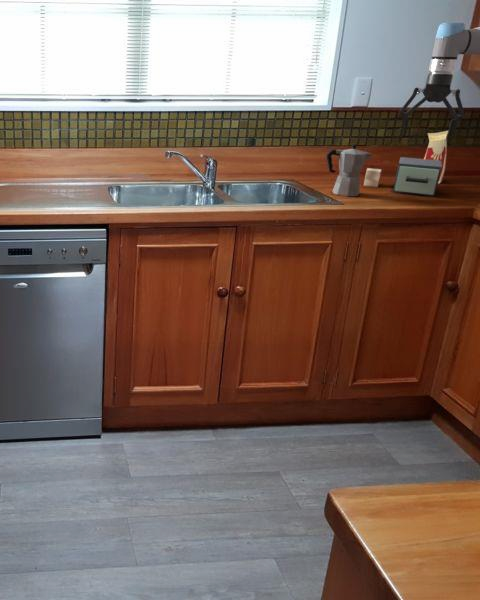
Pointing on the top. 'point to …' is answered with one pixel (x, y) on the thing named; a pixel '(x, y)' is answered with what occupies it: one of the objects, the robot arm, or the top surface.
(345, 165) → the coffeepot
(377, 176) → the block
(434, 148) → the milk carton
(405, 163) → the cabinet
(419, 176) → the bin
